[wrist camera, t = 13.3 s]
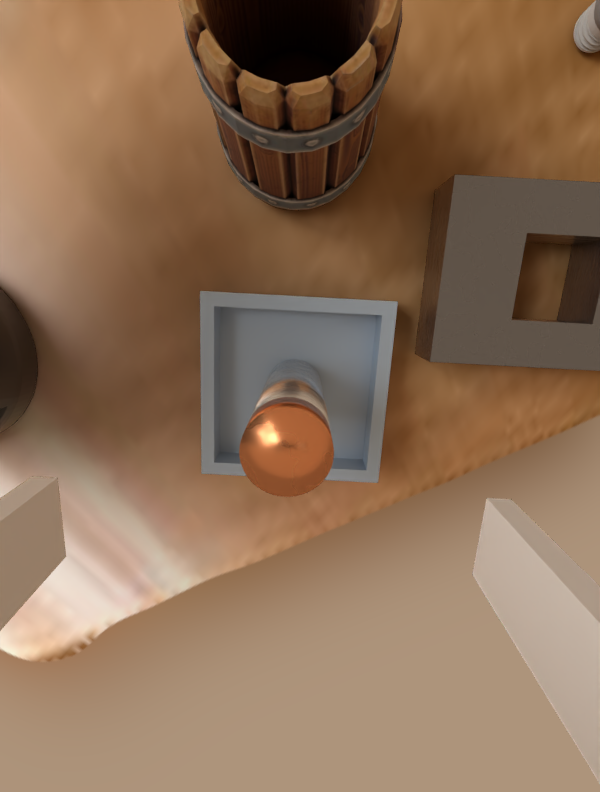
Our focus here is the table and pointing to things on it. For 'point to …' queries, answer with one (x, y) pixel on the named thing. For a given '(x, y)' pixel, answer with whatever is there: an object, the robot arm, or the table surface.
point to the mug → (294, 88)
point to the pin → (288, 433)
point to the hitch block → (509, 273)
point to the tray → (303, 340)
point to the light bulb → (588, 29)
